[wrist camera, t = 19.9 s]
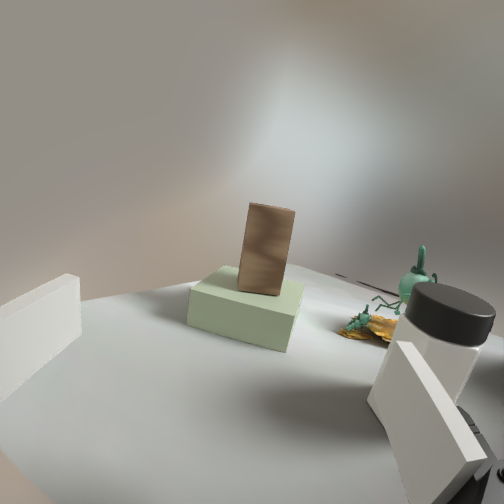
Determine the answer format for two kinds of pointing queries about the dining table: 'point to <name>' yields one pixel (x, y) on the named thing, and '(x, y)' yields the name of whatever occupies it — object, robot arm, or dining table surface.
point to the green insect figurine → (387, 325)
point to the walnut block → (265, 249)
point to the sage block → (244, 310)
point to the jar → (442, 334)
